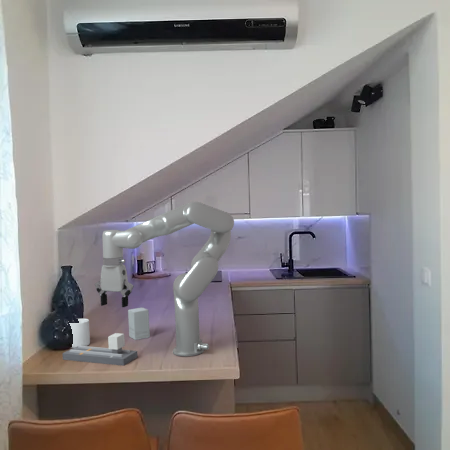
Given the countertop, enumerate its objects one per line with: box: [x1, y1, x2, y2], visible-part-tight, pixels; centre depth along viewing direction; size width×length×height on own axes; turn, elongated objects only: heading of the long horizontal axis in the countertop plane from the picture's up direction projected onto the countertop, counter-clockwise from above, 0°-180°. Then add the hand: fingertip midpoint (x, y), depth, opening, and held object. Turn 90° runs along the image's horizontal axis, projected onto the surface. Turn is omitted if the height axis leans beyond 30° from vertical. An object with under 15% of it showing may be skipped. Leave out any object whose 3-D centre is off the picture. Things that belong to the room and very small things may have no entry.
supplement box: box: [127, 307, 151, 341], centre depth 216 cm, size 7×7×13 cm
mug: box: [69, 318, 91, 349], centre depth 206 cm, size 9×12×11 cm
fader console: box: [62, 345, 138, 366], centre depth 188 cm, size 28×10×3 cm, turn 69°
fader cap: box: [107, 332, 126, 354], centre depth 185 cm, size 4×5×7 cm
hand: (114, 305), depth 185 cm, fingers open, 9 cm apart
